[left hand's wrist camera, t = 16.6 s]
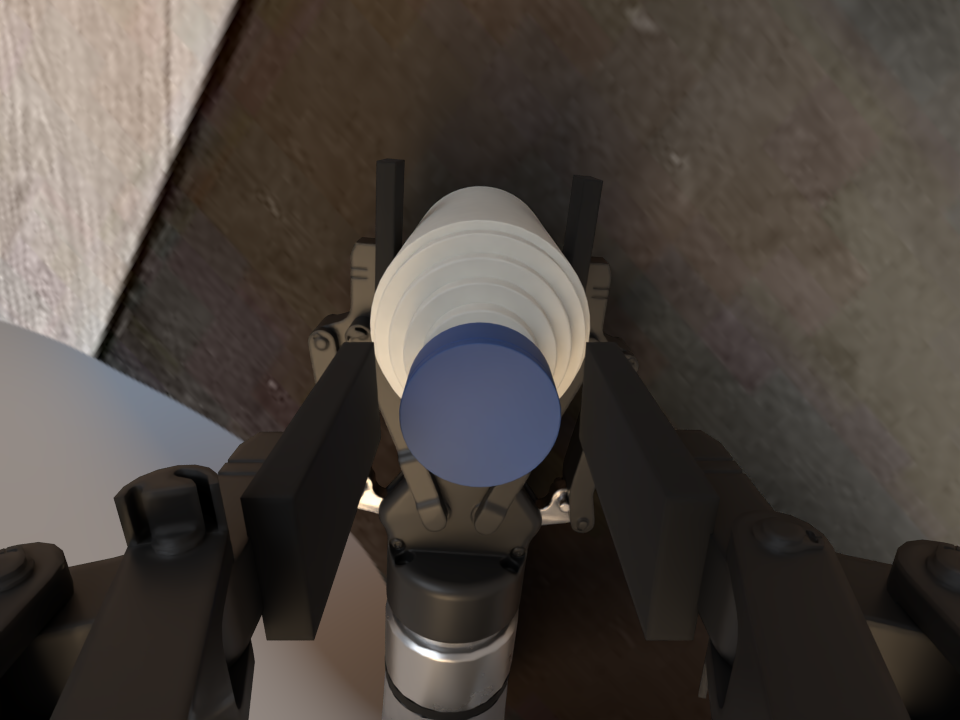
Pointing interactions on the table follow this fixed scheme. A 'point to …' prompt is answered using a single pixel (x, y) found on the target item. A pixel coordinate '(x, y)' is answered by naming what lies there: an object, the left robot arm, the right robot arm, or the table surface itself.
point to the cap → (480, 405)
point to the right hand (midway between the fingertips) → (489, 169)
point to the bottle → (480, 284)
